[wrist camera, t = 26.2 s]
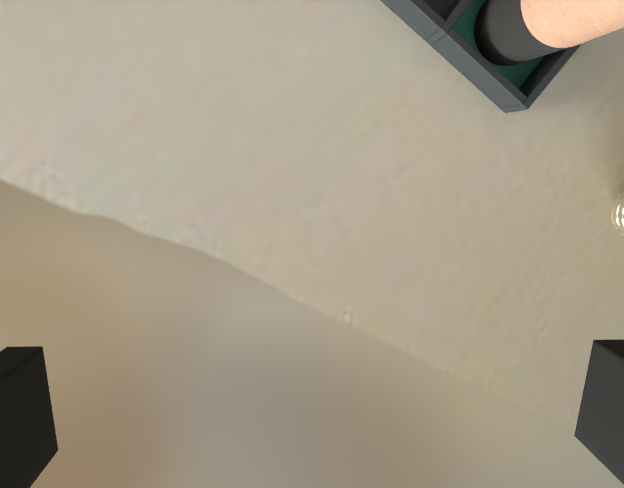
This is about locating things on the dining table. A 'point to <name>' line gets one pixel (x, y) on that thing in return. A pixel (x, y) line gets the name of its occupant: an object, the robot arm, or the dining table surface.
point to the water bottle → (618, 213)
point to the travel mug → (541, 26)
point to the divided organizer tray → (467, 58)
